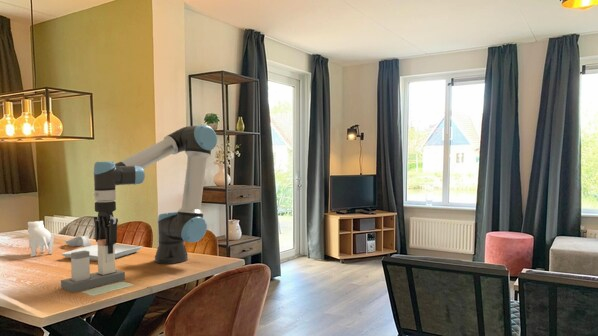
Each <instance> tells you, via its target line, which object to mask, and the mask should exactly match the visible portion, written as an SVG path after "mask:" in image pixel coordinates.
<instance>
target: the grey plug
mask: <svg viewBox="0 0 598 336" xmlns="http://www.w3.org/2000/svg"><path fill="white" fill-rule="evenodd" d="M90 261H91V260H89V251H85V250H84V251H79V252H73V253H71V258H70V262H71V263H70V266H71V267H70V268H71V270H70V272H71V276H70V278H72V281H74V282H78V281H82V280H86V279H90V274H91V273H90V270H91V269H90Z"/></svg>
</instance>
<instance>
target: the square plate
mask: <svg viewBox="0 0 598 336" xmlns="http://www.w3.org/2000/svg"><path fill="white" fill-rule="evenodd" d="M91 245H92V246H88V247H83V246H82V247H79V248H76V249H73V250H69V251H66V252H65V251H64V252H62V253H60V254H61V255H62V256H63V257H65V258H67V259H71V253H73V252H79V251H84V250H85V251H89V261H91V262H92V261H93V262H98V244H94V245H93V244H91ZM142 248H143V246H142V245H130V244H123V243H122V244H120V243H116V244H115V259H117V258H118V259H119V258H121V257H125V256H127V255H131V254H133V253H134V254H135V253H136V252H139V251H140V250H141V249H142Z"/></svg>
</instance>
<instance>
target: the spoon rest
mask: <svg viewBox="0 0 598 336" xmlns="http://www.w3.org/2000/svg"><path fill="white" fill-rule="evenodd" d="M64 242H65V244H66V245H67V246H69V247H71V246H72V247H73V248H74V247H75V248H76V247H82V248H83V247H88V246H92V245H93V244H92V243H91V240H90V238H89V236H88V235H83V236H81V235H79V236H75V237H73V238H71V239H66V240H64Z"/></svg>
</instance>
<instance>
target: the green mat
mask: <svg viewBox="0 0 598 336" xmlns="http://www.w3.org/2000/svg"><path fill="white" fill-rule="evenodd" d="M132 286H134V284H132V283H130V282H129V283H128V282H126V281H118V282H114V283H110V284H106V285H102V286H98V287H94V288H90V289H86V290H82V291H81V293H82V294H85V295H87V296H88V295H89V296H91V297H94V296H98V295H103V294H105V293H109V292H113V291H117V290H121V289H124V288H128V287H132Z"/></svg>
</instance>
